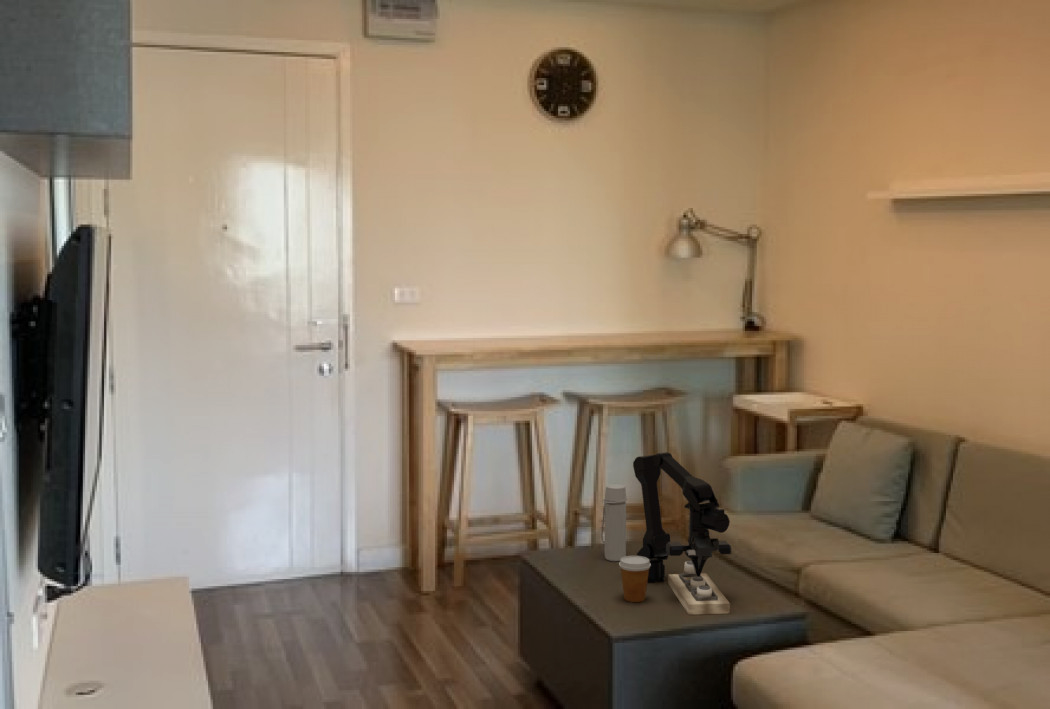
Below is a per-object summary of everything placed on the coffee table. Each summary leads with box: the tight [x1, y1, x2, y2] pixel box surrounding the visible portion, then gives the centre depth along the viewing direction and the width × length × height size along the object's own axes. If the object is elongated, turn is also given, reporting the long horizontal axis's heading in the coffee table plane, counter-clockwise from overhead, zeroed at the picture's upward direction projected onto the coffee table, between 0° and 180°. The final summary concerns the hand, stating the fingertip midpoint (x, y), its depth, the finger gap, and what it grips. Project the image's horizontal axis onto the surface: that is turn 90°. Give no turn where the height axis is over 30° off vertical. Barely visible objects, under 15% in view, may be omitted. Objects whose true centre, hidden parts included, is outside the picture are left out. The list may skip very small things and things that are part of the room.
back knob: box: [684, 560, 695, 574], centre depth 329 cm, size 4×4×3 cm
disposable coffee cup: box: [618, 555, 651, 603], centre depth 321 cm, size 10×10×12 cm
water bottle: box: [600, 483, 627, 562], centre depth 361 cm, size 9×8×25 cm
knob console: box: [667, 572, 731, 616], centre depth 321 cm, size 12×28×4 cm, turn 4°
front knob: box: [697, 585, 712, 597], centre depth 313 cm, size 4×4×3 cm
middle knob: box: [690, 577, 705, 588], centre depth 321 cm, size 4×4×3 cm
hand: (698, 575), depth 321 cm, fingers closed
